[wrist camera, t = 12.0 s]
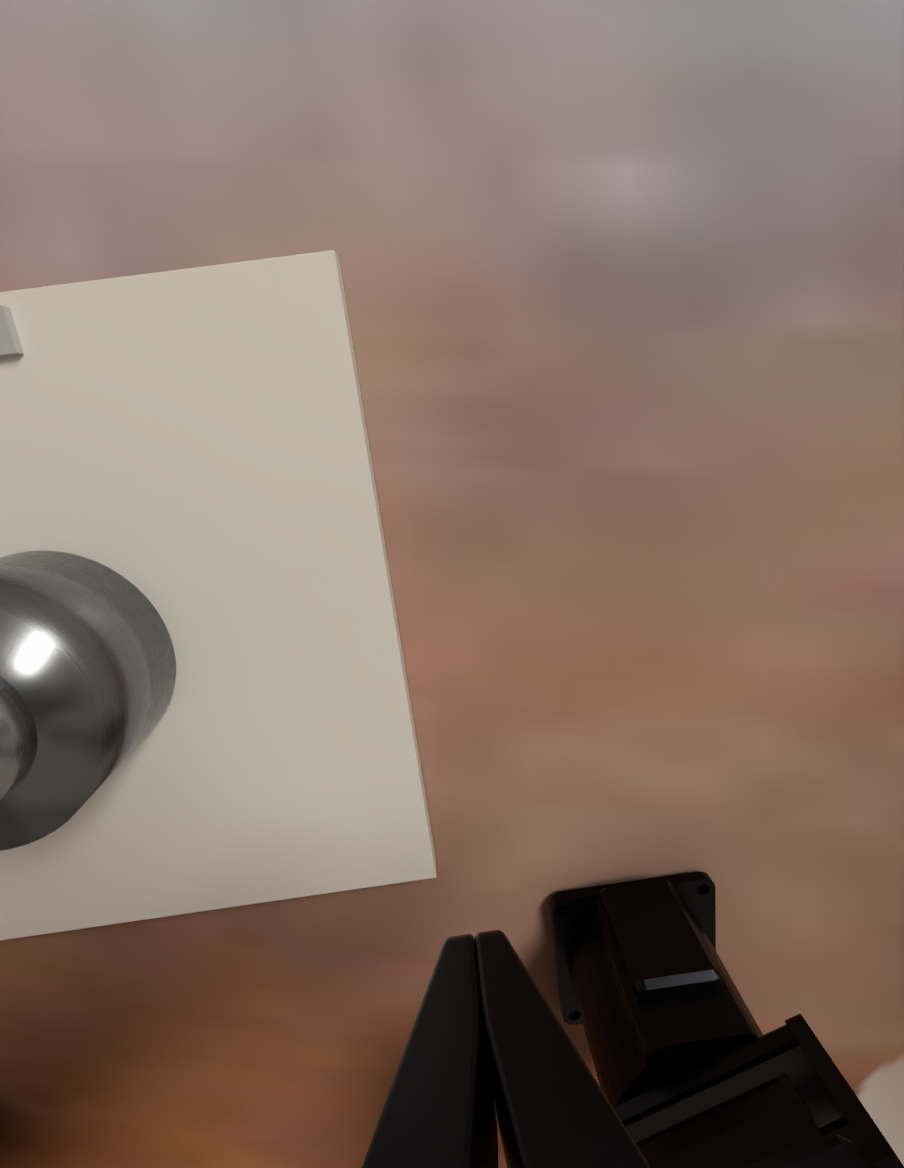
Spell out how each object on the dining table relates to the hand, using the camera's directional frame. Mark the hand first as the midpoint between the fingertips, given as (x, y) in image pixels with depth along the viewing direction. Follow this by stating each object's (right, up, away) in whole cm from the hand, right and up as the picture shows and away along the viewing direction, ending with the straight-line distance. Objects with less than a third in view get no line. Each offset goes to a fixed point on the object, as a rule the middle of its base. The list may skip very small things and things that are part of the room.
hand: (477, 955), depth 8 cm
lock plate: (-13, +3, +11) cm, 17 cm away
